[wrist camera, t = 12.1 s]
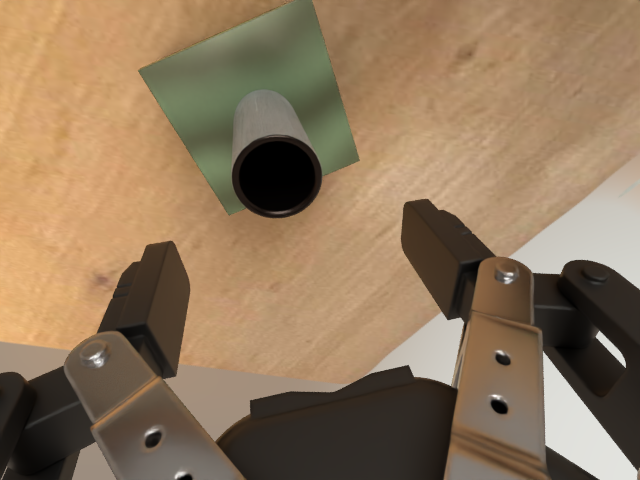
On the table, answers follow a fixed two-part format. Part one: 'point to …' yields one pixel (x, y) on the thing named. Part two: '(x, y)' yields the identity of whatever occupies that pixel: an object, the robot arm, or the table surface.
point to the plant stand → (245, 77)
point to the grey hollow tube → (272, 157)
